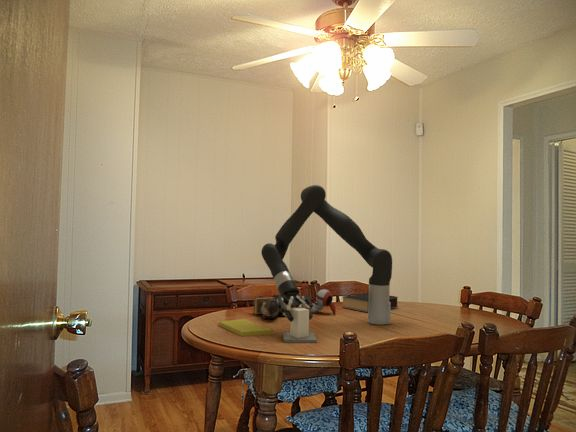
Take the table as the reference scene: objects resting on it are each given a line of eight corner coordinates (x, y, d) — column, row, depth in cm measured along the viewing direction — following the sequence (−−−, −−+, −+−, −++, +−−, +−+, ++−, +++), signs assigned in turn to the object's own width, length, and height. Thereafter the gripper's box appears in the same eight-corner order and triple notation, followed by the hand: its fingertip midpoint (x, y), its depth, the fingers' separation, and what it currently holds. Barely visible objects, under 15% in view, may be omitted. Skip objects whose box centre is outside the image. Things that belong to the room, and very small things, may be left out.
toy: (332, 324, 218) (340, 297, 215) (303, 318, 216) (310, 291, 213) (327, 310, 232) (335, 285, 229) (300, 305, 230) (307, 279, 227)
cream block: (301, 333, 172) (301, 307, 172) (308, 336, 168) (309, 309, 168) (290, 335, 169) (290, 308, 170) (297, 337, 165) (298, 310, 166)
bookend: (277, 294, 223) (297, 296, 201) (277, 316, 221) (296, 320, 199) (250, 294, 217) (267, 296, 195) (249, 316, 216) (266, 321, 194)
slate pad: (313, 334, 175) (313, 332, 175) (316, 342, 163) (316, 339, 163) (282, 334, 174) (282, 331, 174) (283, 342, 162) (284, 339, 162)
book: (397, 309, 241) (397, 296, 241) (367, 313, 225) (367, 300, 225) (372, 304, 254) (372, 292, 254) (342, 308, 238) (342, 296, 238)
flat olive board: (218, 326, 188) (245, 339, 168) (218, 321, 188) (245, 333, 168) (243, 324, 194) (272, 335, 174) (243, 318, 195) (272, 329, 175)
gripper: (274, 280, 172) (289, 315, 162) (304, 278, 179) (321, 312, 169) (267, 292, 176) (281, 327, 166) (297, 290, 184) (312, 323, 174)
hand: (301, 319), depth 168 cm, fingers open, 8 cm apart
